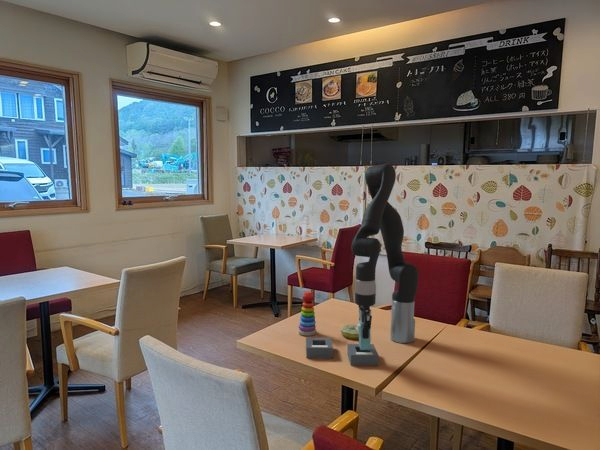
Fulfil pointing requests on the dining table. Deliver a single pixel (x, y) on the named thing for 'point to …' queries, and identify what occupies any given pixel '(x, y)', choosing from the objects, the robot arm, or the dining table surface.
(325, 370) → the dining table surface
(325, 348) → the far socket block
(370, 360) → the near socket block
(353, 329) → the decorated donut
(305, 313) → the stacking toy
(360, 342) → the plug
